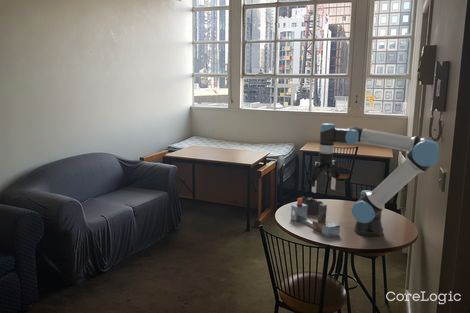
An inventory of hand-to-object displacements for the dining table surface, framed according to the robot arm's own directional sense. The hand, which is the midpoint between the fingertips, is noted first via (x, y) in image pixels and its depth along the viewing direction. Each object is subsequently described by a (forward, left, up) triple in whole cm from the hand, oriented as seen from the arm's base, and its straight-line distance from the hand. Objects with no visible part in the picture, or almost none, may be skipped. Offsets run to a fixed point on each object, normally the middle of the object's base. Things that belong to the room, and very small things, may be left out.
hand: (323, 190), depth 222 cm
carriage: (0, 0, -23) cm, 23 cm away
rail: (+6, 0, -23) cm, 23 cm away
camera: (+26, -16, -23) cm, 39 cm away
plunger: (+19, 0, -14) cm, 24 cm away
